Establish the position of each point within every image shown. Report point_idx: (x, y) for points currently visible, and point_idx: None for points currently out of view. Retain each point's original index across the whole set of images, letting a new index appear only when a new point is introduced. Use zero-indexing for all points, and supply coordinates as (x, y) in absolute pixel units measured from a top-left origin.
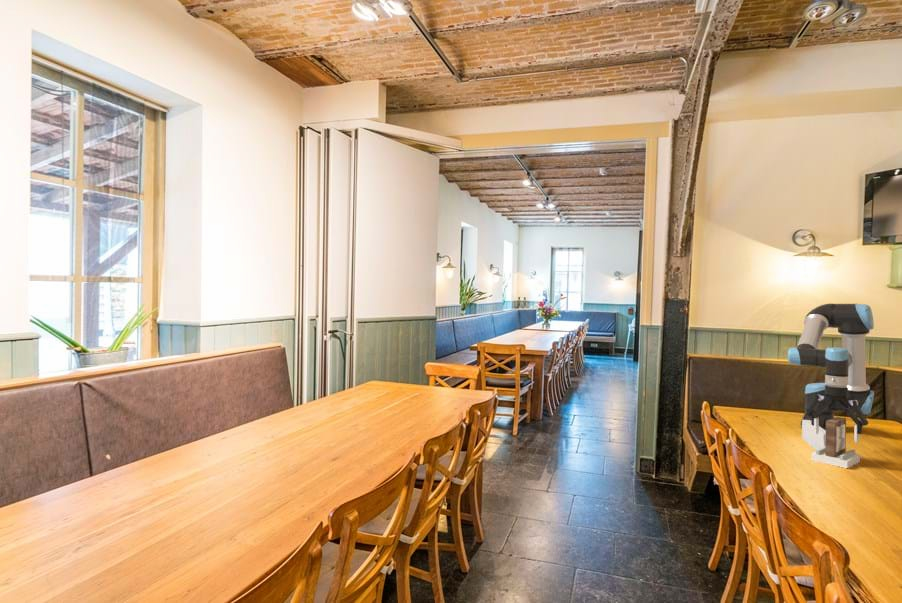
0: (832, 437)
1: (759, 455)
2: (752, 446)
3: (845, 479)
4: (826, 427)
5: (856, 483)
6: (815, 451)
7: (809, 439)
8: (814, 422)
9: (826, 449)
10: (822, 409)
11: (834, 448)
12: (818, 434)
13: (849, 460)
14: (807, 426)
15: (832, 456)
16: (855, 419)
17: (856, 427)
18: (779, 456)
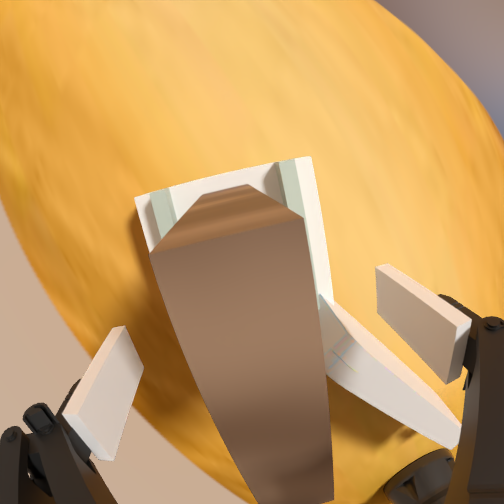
0: (204, 205)
1: (416, 34)
2: (487, 136)
3: (79, 54)
4: (272, 206)
5: (44, 60)
6: (319, 210)
7: (415, 377)
8: (442, 302)
9: (245, 186)
10: (488, 447)
11: (197, 199)
12: (391, 365)
13: (143, 230)
14: (447, 414)
15: (211, 192)
16: (49, 470)
17: (69, 405)
18: (389, 84)
